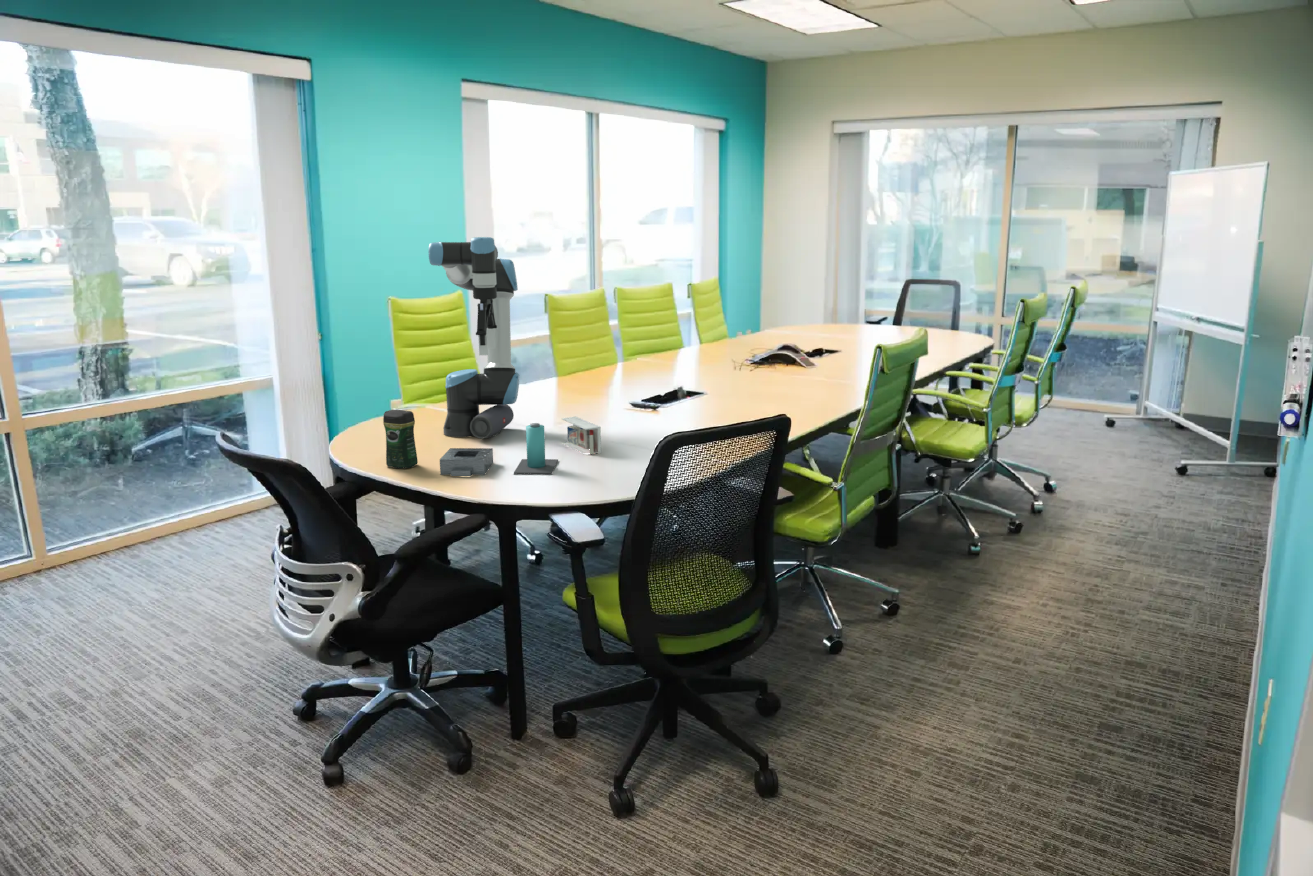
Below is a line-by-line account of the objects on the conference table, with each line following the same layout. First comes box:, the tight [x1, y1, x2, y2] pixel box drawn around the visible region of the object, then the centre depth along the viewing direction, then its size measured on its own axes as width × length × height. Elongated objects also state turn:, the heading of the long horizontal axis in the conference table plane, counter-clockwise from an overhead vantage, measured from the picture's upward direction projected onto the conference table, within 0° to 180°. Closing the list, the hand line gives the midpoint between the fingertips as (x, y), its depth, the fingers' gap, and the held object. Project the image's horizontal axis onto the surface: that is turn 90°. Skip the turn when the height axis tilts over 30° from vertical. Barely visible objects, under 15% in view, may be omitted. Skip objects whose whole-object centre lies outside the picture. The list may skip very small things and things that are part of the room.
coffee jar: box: [382, 409, 419, 469], centre depth 299 cm, size 10×8×19 cm
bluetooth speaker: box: [470, 404, 514, 439], centre depth 341 cm, size 23×9×10 cm, turn 168°
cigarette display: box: [561, 416, 602, 455], centre depth 321 cm, size 20×6×9 cm, turn 32°
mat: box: [513, 458, 559, 476], centre depth 299 cm, size 16×12×1 cm
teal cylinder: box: [525, 422, 546, 468], centre depth 297 cm, size 6×6×14 cm
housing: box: [439, 447, 494, 477], centre depth 297 cm, size 19×14×5 cm
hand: (487, 351), depth 303 cm, fingers open, 13 cm apart
